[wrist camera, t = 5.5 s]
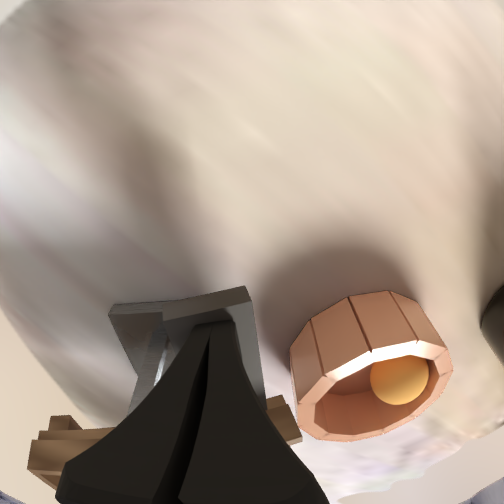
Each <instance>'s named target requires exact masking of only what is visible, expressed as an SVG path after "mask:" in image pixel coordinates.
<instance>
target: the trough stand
mask: <svg viewBox="0 0 504 504" xmlns="http://www.w3.org/2000/svg"><path fill="white" fill-rule="evenodd" d="M176 301H178V300H176ZM168 302H173V301H162V302H148V303H133V304H117V305H113V306H112V308H111V310H110V312H109V314H108V316H109V318H110V320H111V322H112V325H113V327H114V329H115V331H116V333H117V335H118V337H119V340H120V342H121V344H122V346H123V348H124V350H125V352H126V354H127V356H128V358H129V360H130V362H131V364H132V366H133V367H134V369H135V371H136V373H137V375H138V380H137V383H136V387H135V390H134V393H133V397H132V400H131V404H130V407H129V411H128V414H127V416H128V415H129V414H130V413H131V412H132V411H133V410H134V409H135V408H136V407H137V406H138V405H139V404H140V403H141V402H142V401H143V399H144V398H145V397H146V396H147V395H148V394H149V392H150V391H151V390H152V389H153V388H154V386H155V385H156V384H157V382H158V381H159V380H160V378H161V377H162V376H163V374H164V373H165V371H166V370H167V369H168V367H169V366H170V364H171V363H172V361H173V360H174V358H175V357H176V355H175V352H174V350H173V347H172V345H171V342H170V339H169V337H168V334H167V331H166V328H165V326H164V323H163V304H164V303H168Z"/></svg>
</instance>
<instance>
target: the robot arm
mask: <svg viewBox="0 0 504 504" xmlns="http://www.w3.org/2000/svg"><path fill="white" fill-rule="evenodd" d="M55 498H56V500H57V501H58V502H59V503H61V504H330V503H329V501H328V499H327V497H326V495H325V493H324V492H323V490H322V488H321V487H320V485H319V484H318V482H317V480H316V479H315V477H314V475H313V473H312V472H311V471H310V470H309V469H308V468H307V467H306V466H305V465H304V463H303V462H302V461H301V460H300V459H299V458H298V456H297V455H296V454H295V453H294V451H293V450H292V449H291V448H290V446H289V445H288V444H287V442H286V441H285V440H284V438H283V437H282V435H281V434H280V433H279V431H278V430H277V428H276V427H275V425H274V424H273V422H272V421H271V419H270V418H269V416H268V414H267V413H266V411H265V409H264V408H263V406H262V404H261V402H260V400H259V399H258V397H257V395H256V393H255V391H254V389H253V387H252V384H251V382H250V380H249V378H248V375H247V373H246V370H245V368H244V365H243V360H242V354H241V349H240V344H239V339H238V333H237V328H236V323H235V322H234V321H233V320H224V321H214V322H209V323H203V324H196V325H195V326H194V327H193V329H192V330H191V332H190V334H189V336H188V337H187V339H186V341H185V342H184V344H183V346H182V347H181V349H180V351H179V352H178V354H177V355H176V357H175V358H174V360H173V361H172V363H171V364H170V366H169V367H168V369H167V370H166V371H165V373H164V374H163V376H162V377H161V378H160V380H159V381H158V382H157V384H156V385H155V386H154V388H153V389H152V390H151V391H150V392H149V394H148V395H147V396H146V397H145V398H144V399H143V401H142V402H141V403H140V404H139V405H138V406H137V407H136V408H135V409H134V410H133V411H132V412H131V413H130V414H129V415H128V416H127V417H126V418H125V419H124V420H123V421H122V422H121V423H120V424H119V425H118V426H117V427H115V428H114V429H113V430H112V431H111V432H109V433H108V434H107V435H106V436H104V437H103V438H102V439H101V440H99V441H98V442H97V443H95V444H94V445H93V446H91V447H90V448H88V449H87V450H85V451H84V452H82V453H80V454H79V455H77V456H76V457H74V458H72V459H71V460H69V461H67V462H65V465H64V468H63V470H62V473H61V476H60V480H59V483H58V487H57V491H56V495H55ZM0 504H25V503H23V502H21V501H19V500H16V499H15V498H13V497H11V496H9V495H7V494H5V493H3V492H1V491H0ZM459 504H504V477H503V478H501V479H499V480H498V481H496V482H494V483H492V484H490V485H489V486H487V487H485V488H484V489H482V490H480V491H479V492H478V493H476V494H475V495H473V497H472V498H470V499H468V500H466V501H464V502H462V503H459Z"/></svg>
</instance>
